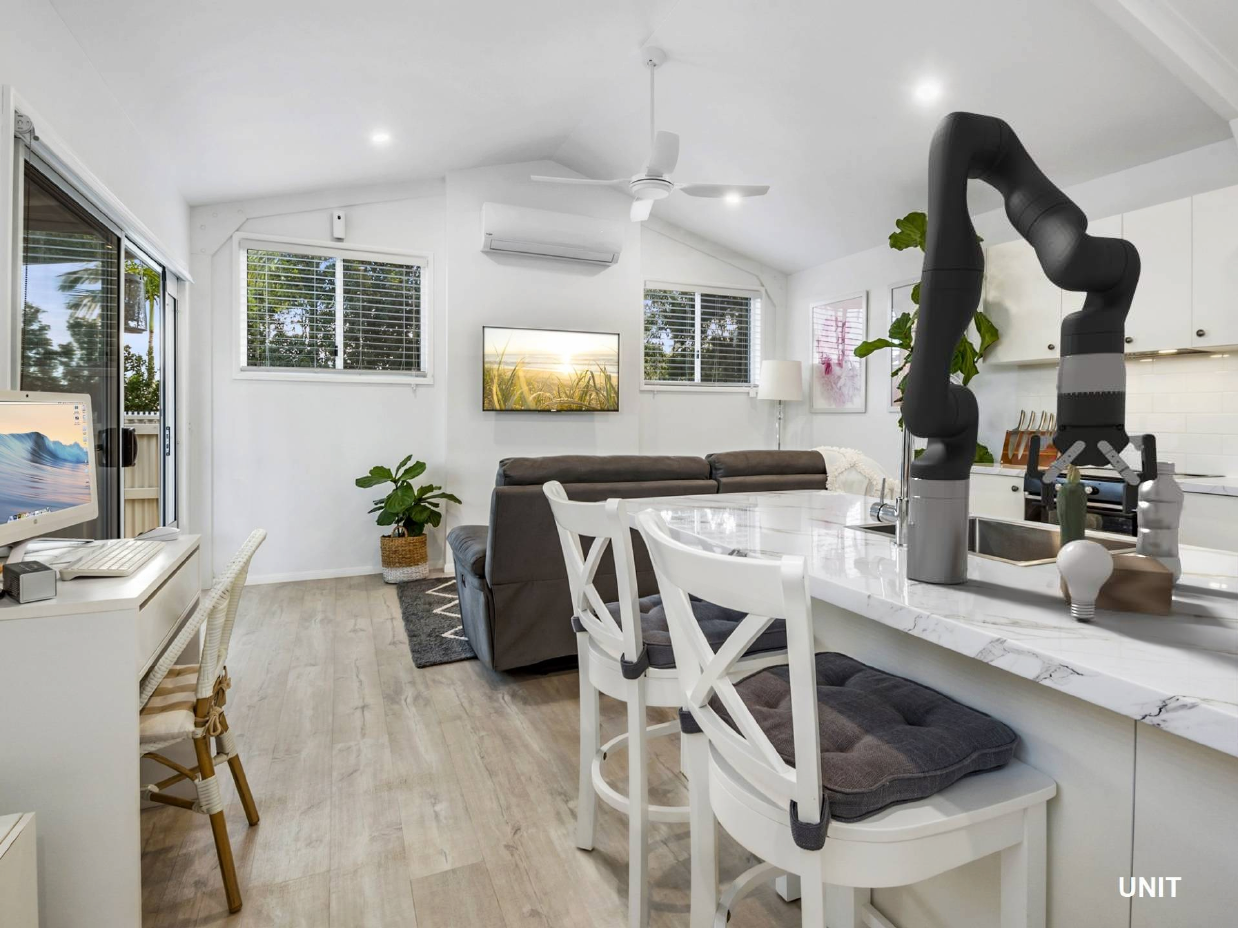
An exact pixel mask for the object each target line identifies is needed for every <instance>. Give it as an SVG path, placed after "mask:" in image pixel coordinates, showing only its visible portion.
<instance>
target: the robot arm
mask: <svg viewBox="0 0 1238 928" xmlns="http://www.w3.org/2000/svg"><path fill="white" fill-rule="evenodd" d="M927 162H928V164H927V167H928V168H927V170H928V171H927V177H928V178H927V222H926V232H925V233H926V235H925V244H924V255H923V263H922V269H921V276H920V287H919V294H918V295H919V297H918V312H917V318H916V325H915V333H914V342H913V349H912V354H911V359H910V365H909V369H908V372H907V373H908V374H907V378H906V382H905V387H904V391H903V392H904V393H903V397H902V402H901V403H902V404H901V416H902V421H903V425H904V427H905V429H906V431H907V432H908V433H909V434H911V436H913V437H915V438H917V439H927V442H926V448H925V449H924V451H923V452H922V453H921V454H920V455H919V456H918V457H916V458H915V459H913V460H912V461H911V463H910V470H909V471H910V472H909V473H910V474H909V476H910V477H909V515H908V517H909V519H908V520H909V521H908V523H907V529H906V530H907V533H906V534H907V535H906V537H907V538H906V539H907V540H906V542H907V543H906V577H905V578H906V579H911V580H912V579H913V580H917V581H921V582H927V583H932V584H934V583H935V584H936V583H937V584H960V583H961V584H962V583H965V582H967V581H968V570H969V567H968V564H969V563H968V562H969V561H968V558H969V557H968V556H969V554H968V553H969V527H970V526H969V524H970V523H969V522H970V519H969V518H970V485H971V484H970V482H971V479H970V478H971V471H972V467H973V465H974V463H975V461H976V457H977V446H978V439H979V438H978V437H979V426H980V425H979V423H980V409H979V404H978V401H977V398H976V396H975V394H974V393H973V391H972V389H970V388H968V386H965V385H962V384H957V383H951V373H952V366H953V360H954V356H955V352H956V350H957V347H958V344H959V343H960V341H961V340H962V337H963V336H964V335H965V332H966V331H967V330H968V327H969V325H970V324H971V323H972V320H973V319H974V317H975V315H976V313H977V311H978V308H979V306H980V303H981V298H982V292H983V285H984V275H985V268H986V267H985V264H986V263H985V262H986V261H985V255H984V251H983V248H982V245H981V242H980V238H979V236H978V234H977V232H976V229H975V226H974V224H973V222H972V218H971V216H970V212H969V208H968V197H967V196H968V193H967V192H968V180H980V181H982V182H984V183H986V184H988V185H989V186H991V187H993V188H994V189H996V190H997V191H998V192H999V193H1000V194H1001V196H1002V197H1003V200H1004V203H1003V204H1004V211H1005V214H1006V217H1007V219H1008V221H1009V223H1010V224H1011V226H1012V227H1013V228H1014V230H1016V232H1017V233H1018V234H1019V235H1020V236H1021V237H1022V238H1023V239H1024V240H1025V241H1026V243H1028V244H1029V245H1030V246H1031V247H1032V248H1033V249H1034V251H1035V255H1036V257H1037V260H1038V261H1039V264H1040V266H1041V269H1042V271H1043V273H1044V275H1045V277H1046V278H1047V279H1048V281H1050V282H1051V283H1052V284H1053V285H1055V286H1056V287H1057V288H1059V289H1061V290H1064V291H1067V292H1072V293H1073V292H1076V293H1079V292H1080V293H1086V296H1085V300H1084V302H1083V304H1082V308H1081V310H1077V311H1075V312H1071V313H1069V314H1067V315H1066V316H1065V317H1064V318H1063V319H1062V322H1061V324H1060V325H1061V326H1060V339H1059V341H1060V342H1059V343H1060V345H1059V347H1060V351H1059V357H1060V358H1059V365H1058V369H1057V370H1058V371H1057V380H1056V381H1057V383H1056V386H1055V388H1056V423H1055V424H1056V427H1055V428H1056V429H1055V432H1054V434H1053V435H1052V436H1051V435H1039V434H1035V433H1033V434H1031V435H1030V436H1029V437H1028V438H1029V440H1028V451H1027V461H1026V473H1025V474H1026V476H1027V477H1029V478H1030V479H1034V480H1037V481H1038V482H1040V487H1041V491H1040V502H1041V505H1042V506H1043V507H1046V511H1048V512H1054V510H1055V483H1054V482H1053V481H1054V480H1055V479H1056V478H1057V477H1058V476H1059V475H1060V473H1061V472H1063V471H1064V470H1066V469H1065V468H1066V466H1067V465H1068V464H1071V465H1073V466H1076V467H1077V468H1078V467H1088V466H1091V467H1097V468H1105V467H1106V466H1109V465H1110V466H1111V467H1112V468H1113V470H1115V471H1116V472H1117V473H1118V475H1120V477H1121V478H1122V479H1123V480H1124V484H1122V503H1121V504H1122V513H1123V514H1124V515H1132V513H1133V510H1134V511H1135V510H1136V511H1137V507H1138V488H1139V486H1140V484H1141V483H1144V482H1147V481H1153V480H1156V479H1157V477H1158V475H1157V462H1158V458H1157V457H1158V456H1157V454H1158V453H1157V439H1156V438H1157V437H1156V435H1155V434H1152V433H1144V434H1140V435H1139V434H1137V435H1129V434H1128V433H1127V431H1126V398H1127V397H1126V394H1127V393H1126V392H1127V390H1126V389H1127V368H1126V367H1127V366H1126V361H1125V349H1126V348H1125V346H1126V345H1125V344H1126V342H1125V341H1126V340H1125V339H1126V334H1125V333H1126V331H1125V330H1126V327H1125V326H1126V320H1127V317H1128V315H1129V312H1130V309H1131V306H1132V303H1133V301H1134V297H1135V294H1136V291H1137V287H1138V284H1139V280H1140V276H1141V270H1142V262H1141V256H1140V254H1139V251H1138V249H1137V247H1136V246H1135V245H1134V244H1133V243H1132V242H1131V241H1130V240H1128V239H1124V238H1120V237H1109V236H1095V235H1091V234H1088V233H1087V230H1088V225H1089V221H1088V217H1087V215H1086V214H1085V212H1084V211H1083V210H1082V208H1080V206H1078V205H1077V204H1076V202H1074V200H1072V199H1071V198H1070V197H1069V196H1068V195H1066V194H1065V193H1064V192H1063V191H1062V190H1061V189H1060V188H1058V186H1056V185H1055V184H1054V183H1053V182H1052V181H1051V180H1050V178H1048V177H1047V176H1046V174H1045V173H1044V172H1043V171H1042V170H1041V169H1040V168H1039V166H1038V165H1037V163H1036V162H1035V161H1034V159H1033V158H1032V157H1031V155H1030V154H1029V152H1028V150H1027V149H1026V148H1025V146H1024V145H1023V143H1022V142H1021V140H1020V139H1019V137H1018V135H1017V134H1016V132H1015V131H1014V129H1013V128H1012V127H1011V126H1010V125H1009V123H1008V122H1007V121H1005V120H1004V119H1001V117H997V116H993V115H992V116H991V115H986V114H981V113H974V112H969V111H953V112H950V113H949V114H947V115H944V117H943V118H942V119H941V120H940V121H939V123H938V124H937V126H936V128H935V129H934V133H933V135H932V137H931V141H930V146H929V152H928V161H927ZM1049 444H1052V445H1053V446H1054V448H1055V449H1056V451H1058V453H1059V455H1058V457H1057V458H1056V459H1055V460H1054V461H1053V462H1052V464H1050V466H1049V467H1048V468H1047V469H1046V470H1045V472H1044V471H1041V470H1038V469H1039V462H1040V452H1044V451H1045V450H1046V449H1047V447H1048V445H1049ZM1129 444H1132V445H1133V447H1134V450H1136V451H1138V452H1140V458H1141V463H1140V464H1141V472H1140V471H1139V472H1137V473H1135V472H1134V471H1133V470H1132V469H1131V467H1130V466H1129V465H1128V464H1127V462H1126V461H1125V460H1124V459H1123V458H1122V456H1120V454H1121V453H1122V452H1123V451H1124V450H1125V449H1126V448H1127V447H1128V445H1129Z"/></svg>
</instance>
